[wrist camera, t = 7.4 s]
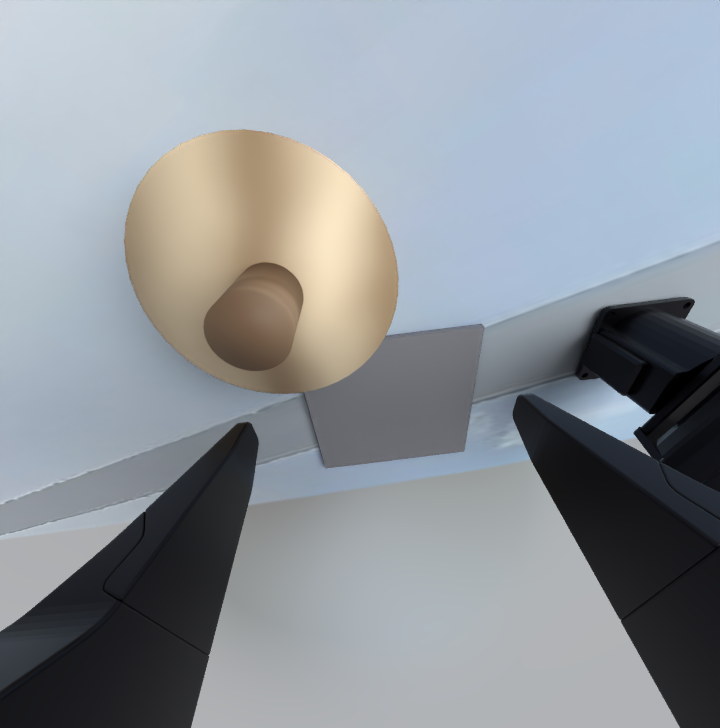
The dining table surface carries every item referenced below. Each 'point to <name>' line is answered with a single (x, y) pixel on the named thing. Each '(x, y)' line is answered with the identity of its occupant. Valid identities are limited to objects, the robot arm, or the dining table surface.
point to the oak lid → (261, 261)
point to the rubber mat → (401, 399)
